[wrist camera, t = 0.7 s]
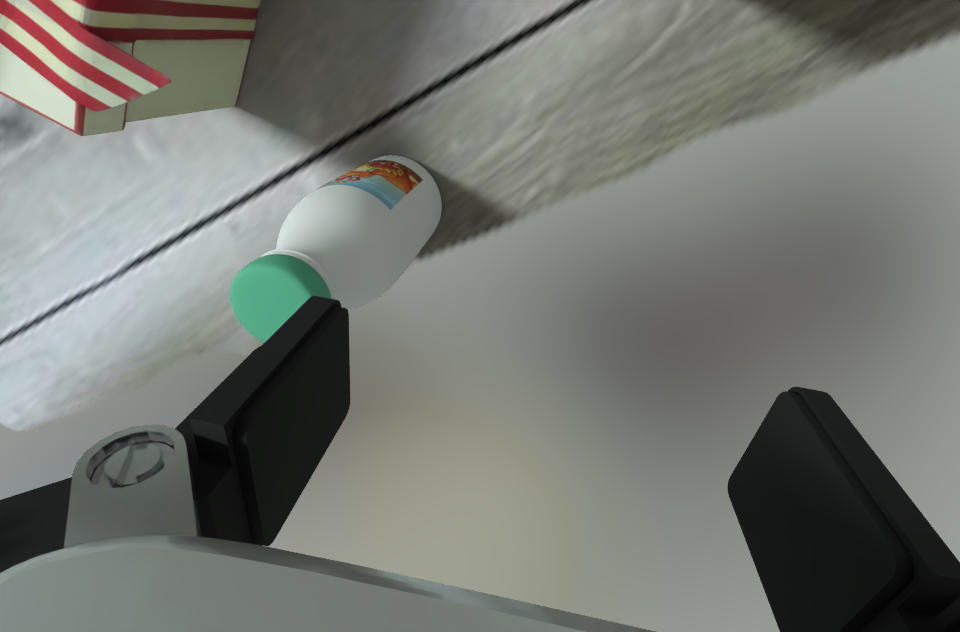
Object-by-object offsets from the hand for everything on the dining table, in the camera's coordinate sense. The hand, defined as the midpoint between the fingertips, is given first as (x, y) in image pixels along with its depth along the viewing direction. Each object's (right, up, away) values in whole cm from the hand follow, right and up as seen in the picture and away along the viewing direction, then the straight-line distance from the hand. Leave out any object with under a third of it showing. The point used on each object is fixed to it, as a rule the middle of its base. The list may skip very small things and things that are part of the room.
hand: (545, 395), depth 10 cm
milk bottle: (-8, +11, +29) cm, 33 cm away
